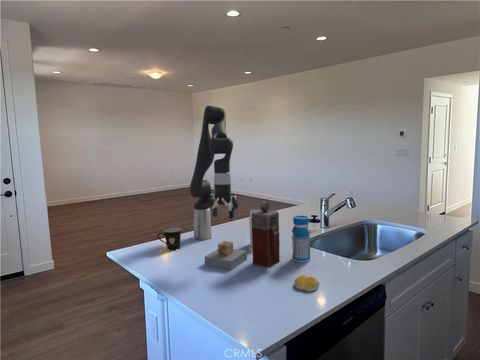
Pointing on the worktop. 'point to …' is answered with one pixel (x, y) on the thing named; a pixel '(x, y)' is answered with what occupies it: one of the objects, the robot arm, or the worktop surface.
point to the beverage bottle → (301, 239)
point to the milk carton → (251, 225)
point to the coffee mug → (172, 238)
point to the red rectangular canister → (265, 236)
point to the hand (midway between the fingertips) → (223, 217)
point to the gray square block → (226, 259)
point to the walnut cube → (225, 248)
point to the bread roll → (306, 283)
